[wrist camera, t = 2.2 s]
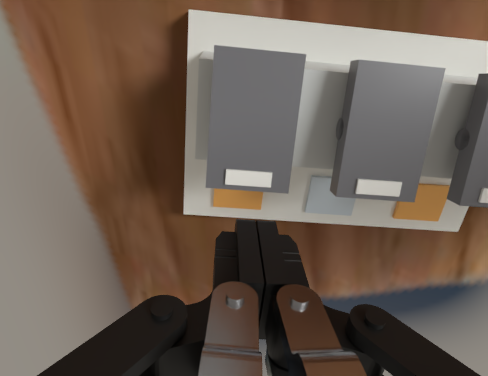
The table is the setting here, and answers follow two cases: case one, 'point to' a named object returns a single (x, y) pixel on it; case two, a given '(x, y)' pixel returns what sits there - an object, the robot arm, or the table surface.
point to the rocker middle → (384, 130)
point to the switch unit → (329, 119)
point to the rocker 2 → (472, 153)
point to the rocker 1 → (253, 118)
